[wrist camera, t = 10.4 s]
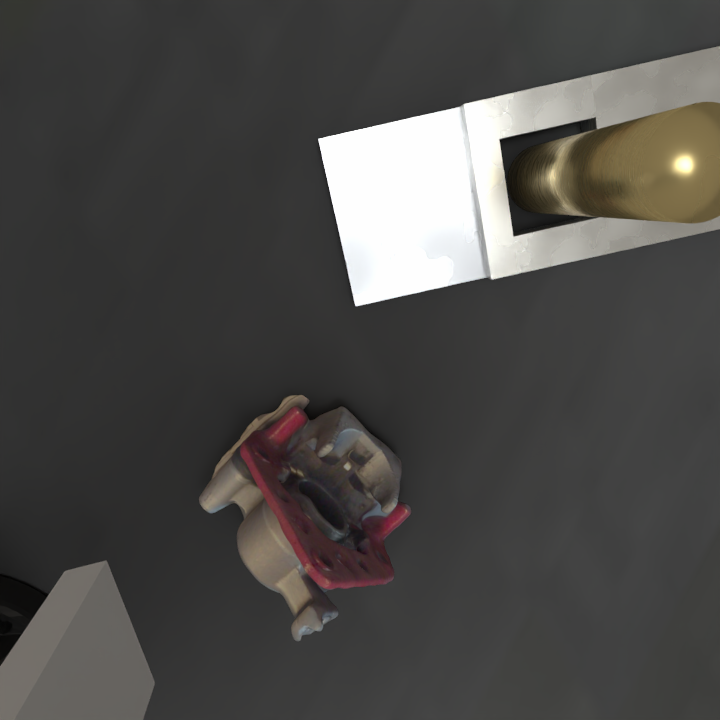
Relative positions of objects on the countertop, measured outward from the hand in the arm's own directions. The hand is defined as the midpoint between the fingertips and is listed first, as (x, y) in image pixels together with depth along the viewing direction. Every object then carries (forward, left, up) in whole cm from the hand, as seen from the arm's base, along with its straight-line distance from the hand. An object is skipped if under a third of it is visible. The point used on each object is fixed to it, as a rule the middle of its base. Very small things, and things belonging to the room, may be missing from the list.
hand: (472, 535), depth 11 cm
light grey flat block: (+15, +5, -24) cm, 29 cm away
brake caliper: (-6, -10, -25) cm, 27 cm away
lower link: (+6, +5, -24) cm, 25 cm away
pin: (+10, +5, -24) cm, 27 cm away
